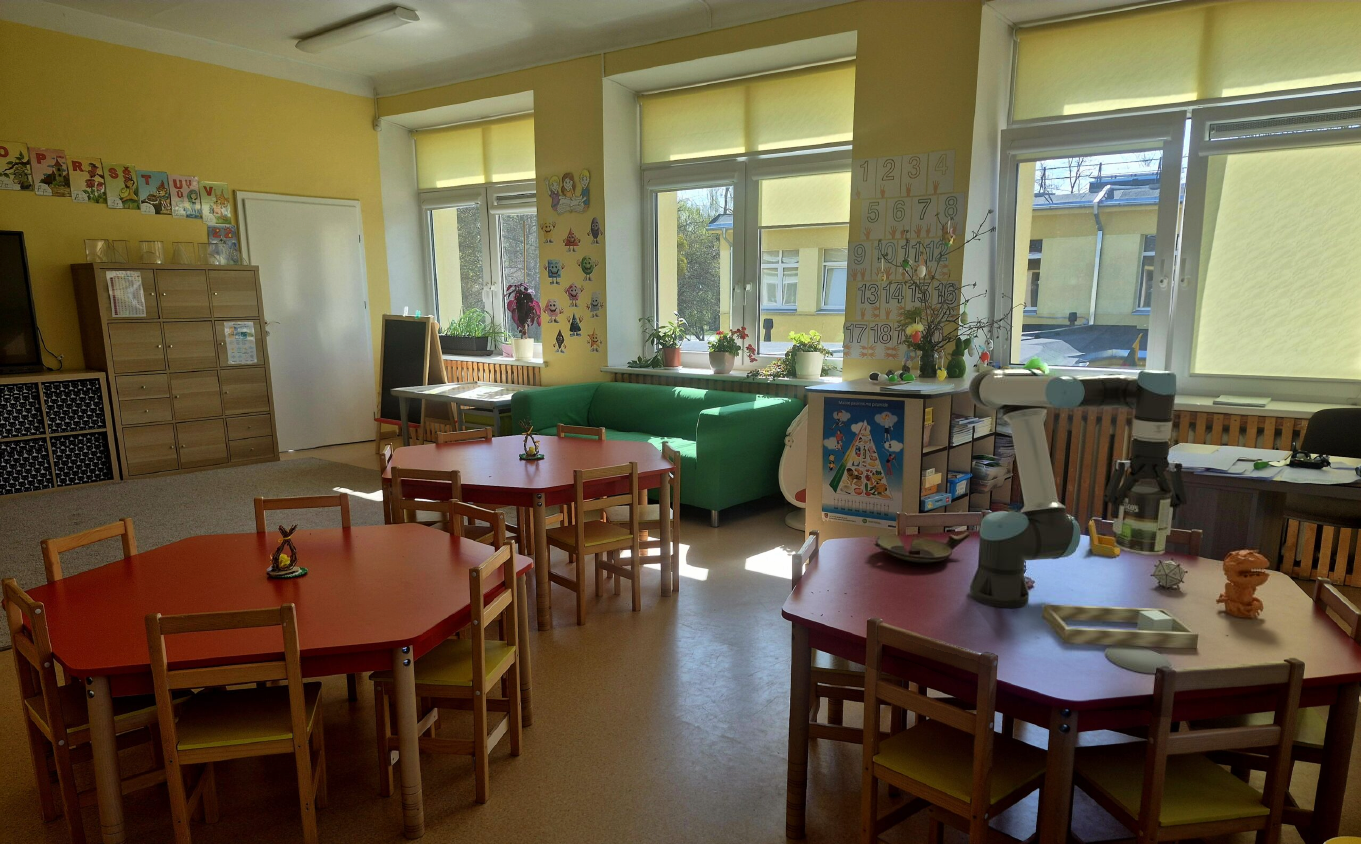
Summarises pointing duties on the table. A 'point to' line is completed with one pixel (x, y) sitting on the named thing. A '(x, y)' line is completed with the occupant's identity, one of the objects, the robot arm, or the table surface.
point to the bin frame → (1056, 613)
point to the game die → (1169, 573)
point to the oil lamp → (920, 547)
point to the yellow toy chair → (1102, 543)
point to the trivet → (1136, 658)
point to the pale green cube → (1154, 621)
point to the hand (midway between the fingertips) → (1140, 532)
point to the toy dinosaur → (1243, 583)
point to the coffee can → (1144, 520)
